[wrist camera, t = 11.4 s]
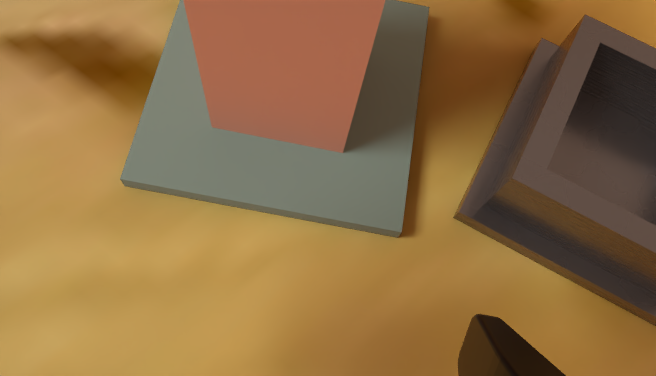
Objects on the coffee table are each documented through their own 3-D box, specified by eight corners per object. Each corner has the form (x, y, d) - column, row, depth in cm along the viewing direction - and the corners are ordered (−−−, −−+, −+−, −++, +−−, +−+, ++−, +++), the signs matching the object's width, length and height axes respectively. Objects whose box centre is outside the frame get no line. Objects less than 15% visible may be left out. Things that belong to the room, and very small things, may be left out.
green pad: (397, 237, 18) (401, 232, 17) (125, 186, 18) (120, 179, 17) (425, 17, 21) (429, 7, 21) (195, -29, 21) (193, -40, 21)
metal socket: (677, 337, 18) (752, 325, 15) (453, 217, 18) (485, 184, 16) (730, 143, 21) (802, 103, 18) (535, 47, 21) (574, -6, 19)
